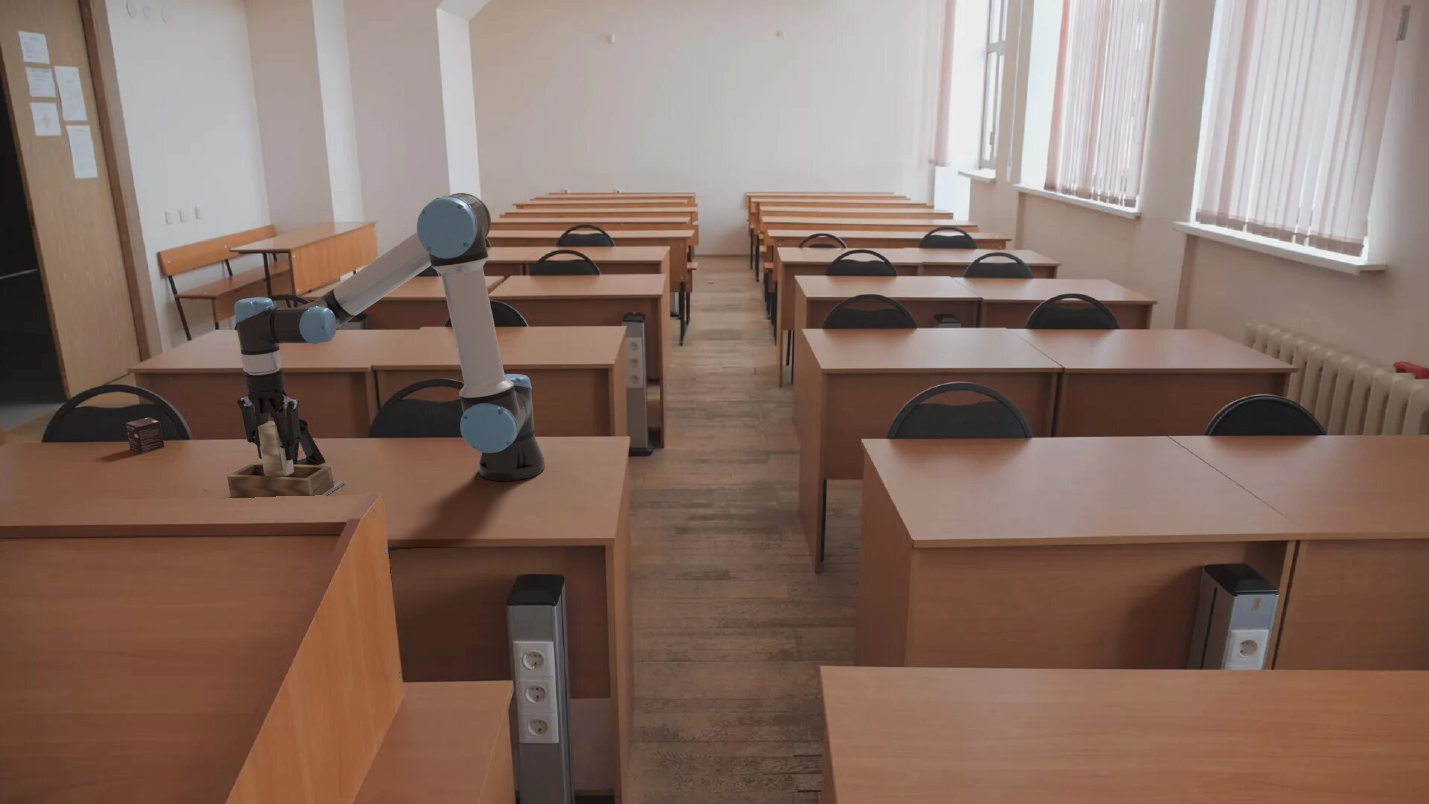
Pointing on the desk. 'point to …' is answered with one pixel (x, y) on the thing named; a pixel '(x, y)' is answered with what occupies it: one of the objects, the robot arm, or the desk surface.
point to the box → (144, 435)
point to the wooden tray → (282, 482)
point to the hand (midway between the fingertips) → (279, 472)
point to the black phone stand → (307, 447)
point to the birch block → (271, 449)
